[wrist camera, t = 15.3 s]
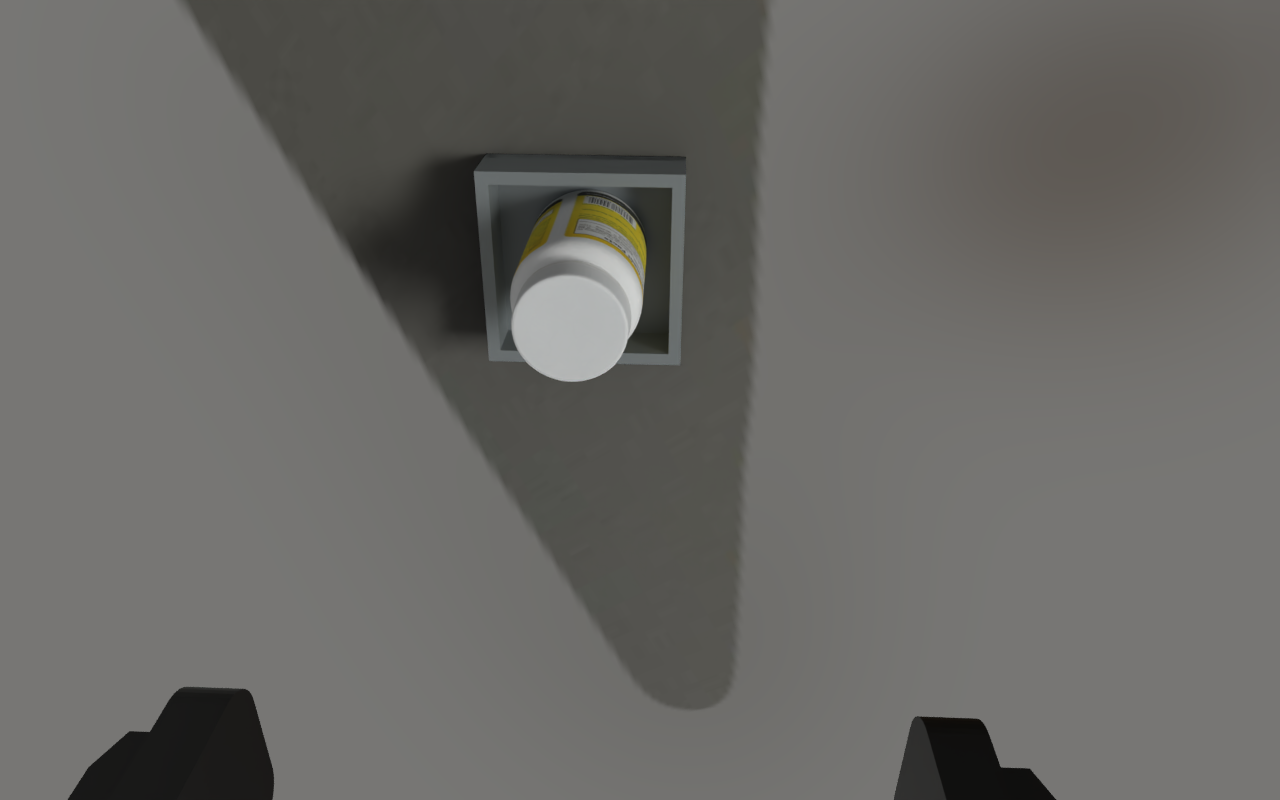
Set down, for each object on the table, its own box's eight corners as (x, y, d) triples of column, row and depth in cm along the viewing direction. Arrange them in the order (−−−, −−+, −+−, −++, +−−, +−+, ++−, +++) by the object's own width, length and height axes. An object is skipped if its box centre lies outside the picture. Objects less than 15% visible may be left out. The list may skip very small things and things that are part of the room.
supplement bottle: (552, 306, 40) (521, 404, 33) (517, 202, 38) (476, 282, 30) (660, 282, 39) (654, 377, 32) (632, 174, 37) (618, 249, 30)
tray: (486, 153, 37) (473, 171, 35) (685, 156, 37) (685, 174, 35) (499, 334, 41) (489, 361, 39) (680, 338, 41) (680, 365, 39)
